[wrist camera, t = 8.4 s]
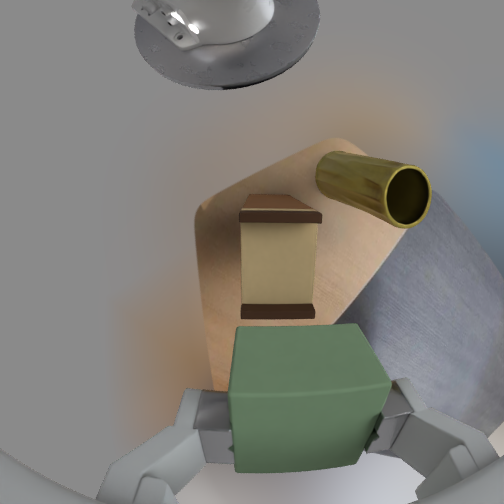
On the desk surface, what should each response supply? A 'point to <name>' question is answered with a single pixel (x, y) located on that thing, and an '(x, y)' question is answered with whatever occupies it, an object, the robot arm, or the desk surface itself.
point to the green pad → (303, 397)
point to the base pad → (277, 257)
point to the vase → (376, 187)
